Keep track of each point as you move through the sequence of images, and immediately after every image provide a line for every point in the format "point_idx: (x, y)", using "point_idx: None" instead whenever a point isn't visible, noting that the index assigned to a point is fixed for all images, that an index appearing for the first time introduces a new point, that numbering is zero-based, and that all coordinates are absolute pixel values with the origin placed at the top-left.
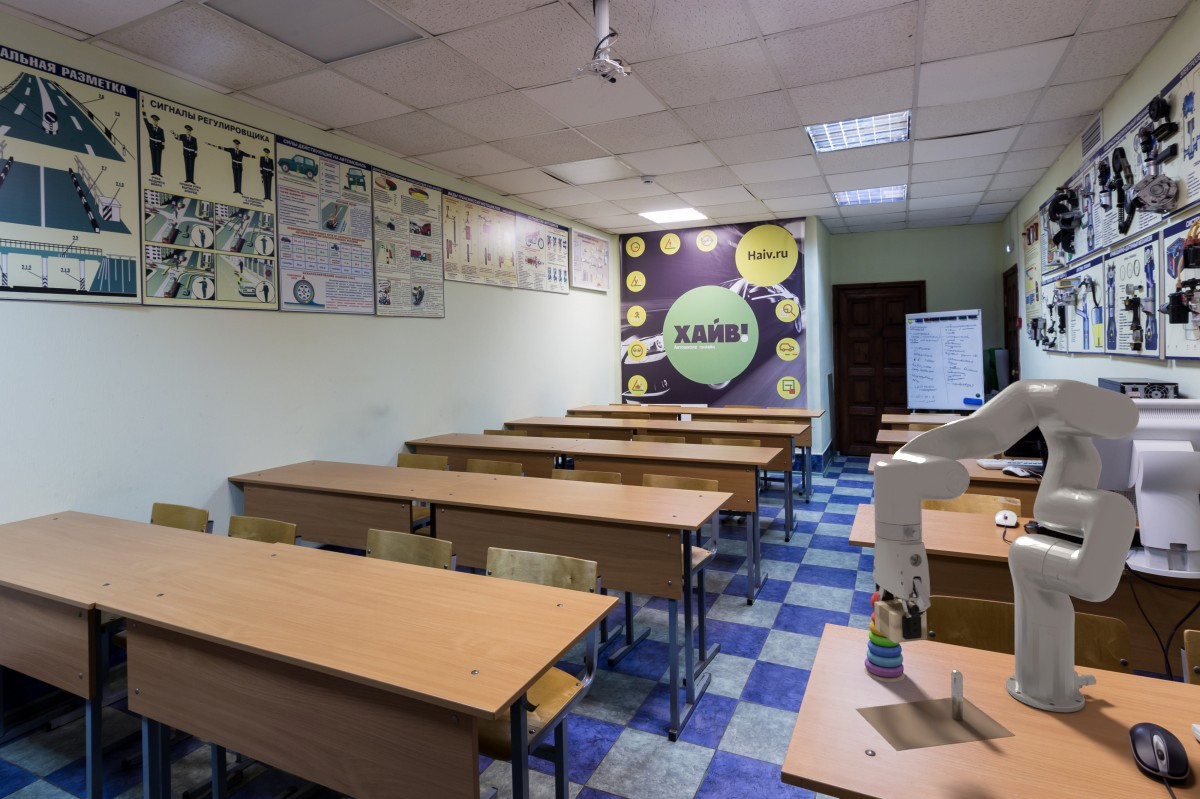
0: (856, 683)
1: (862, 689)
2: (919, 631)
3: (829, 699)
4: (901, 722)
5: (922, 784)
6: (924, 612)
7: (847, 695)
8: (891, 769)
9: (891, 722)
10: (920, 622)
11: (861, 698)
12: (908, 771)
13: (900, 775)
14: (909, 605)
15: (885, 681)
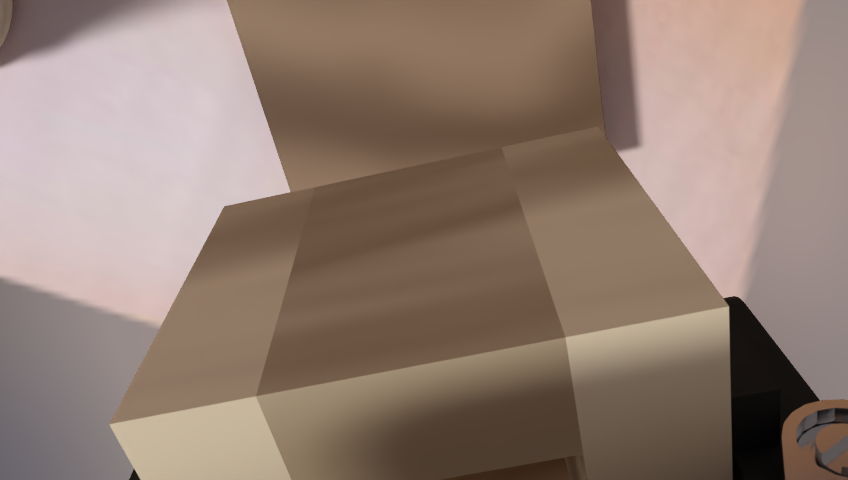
0: (3, 130)
1: (59, 119)
2: (747, 309)
3: (182, 277)
4: (405, 72)
5: (751, 116)
6: (720, 323)
7: (133, 200)
8: (655, 192)
9: (407, 117)
10: (731, 330)
11: (148, 148)
12: (674, 137)
13: (691, 173)
14: (437, 455)
15: (1, 8)
